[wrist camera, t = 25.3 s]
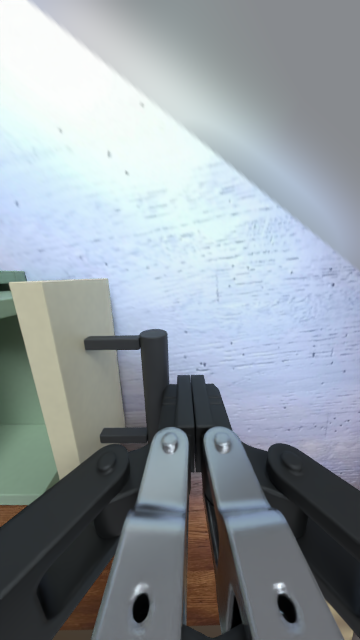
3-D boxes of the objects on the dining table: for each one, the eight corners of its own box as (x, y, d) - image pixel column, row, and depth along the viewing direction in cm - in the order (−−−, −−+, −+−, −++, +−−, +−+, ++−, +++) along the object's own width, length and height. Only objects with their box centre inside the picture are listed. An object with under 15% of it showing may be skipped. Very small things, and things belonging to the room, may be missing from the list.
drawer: (170, 277, 12) (159, 279, 6) (174, 426, 15) (170, 519, 9) (-102, 282, 12) (-354, 288, 6) (-41, 428, 15) (-174, 520, 9)
